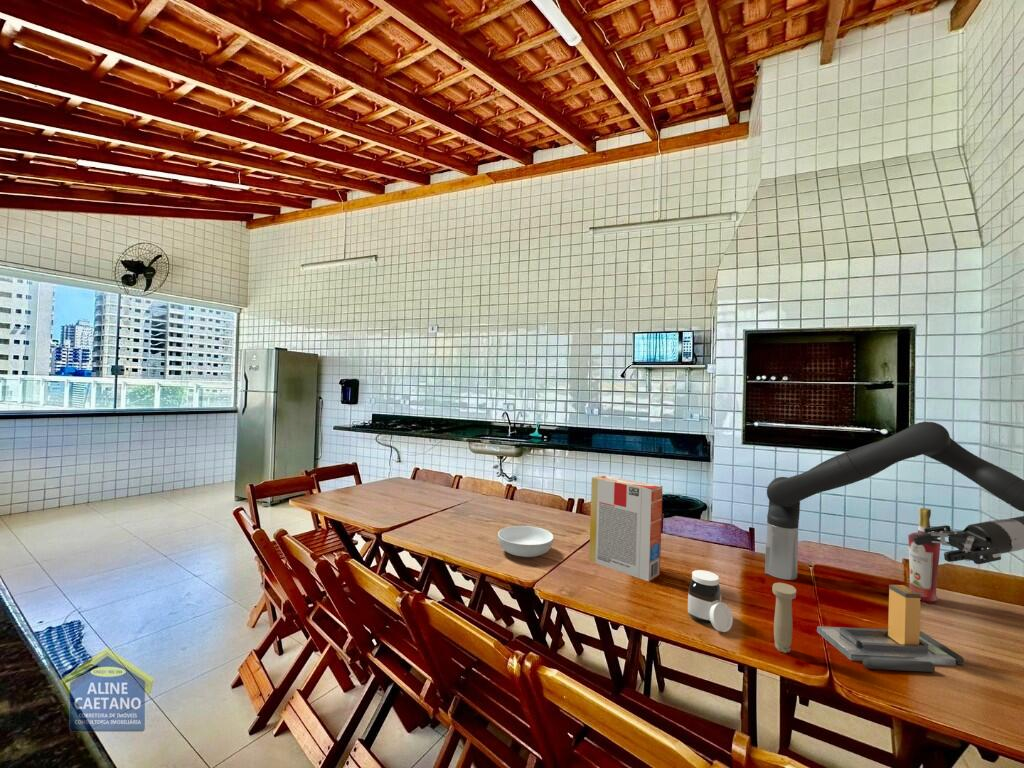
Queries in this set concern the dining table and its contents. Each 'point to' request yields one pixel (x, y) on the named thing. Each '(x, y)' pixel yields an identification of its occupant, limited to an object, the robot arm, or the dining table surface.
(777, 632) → the handle
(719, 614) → the spread jar
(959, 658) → the dark grey rounded bar
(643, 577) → the cereal box
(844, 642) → the panel
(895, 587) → the tan wooden block
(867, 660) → the grey rounded rod
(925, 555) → the liquor
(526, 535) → the serving bowl
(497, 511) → the dining table surface
